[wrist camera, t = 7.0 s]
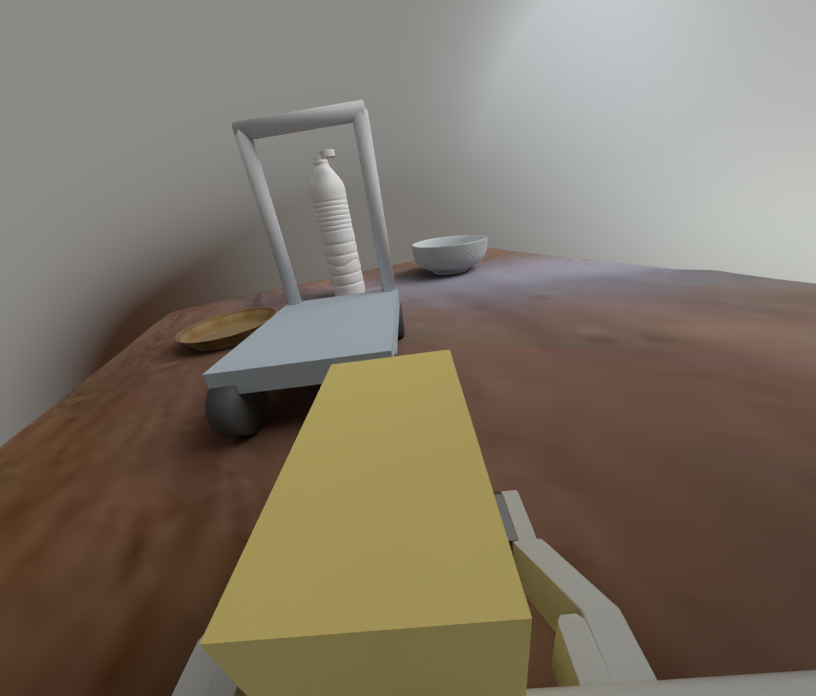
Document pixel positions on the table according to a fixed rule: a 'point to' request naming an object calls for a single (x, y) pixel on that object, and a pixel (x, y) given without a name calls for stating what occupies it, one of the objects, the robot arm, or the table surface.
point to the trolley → (300, 320)
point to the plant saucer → (225, 329)
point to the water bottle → (335, 227)
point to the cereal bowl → (450, 253)
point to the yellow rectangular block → (378, 552)
